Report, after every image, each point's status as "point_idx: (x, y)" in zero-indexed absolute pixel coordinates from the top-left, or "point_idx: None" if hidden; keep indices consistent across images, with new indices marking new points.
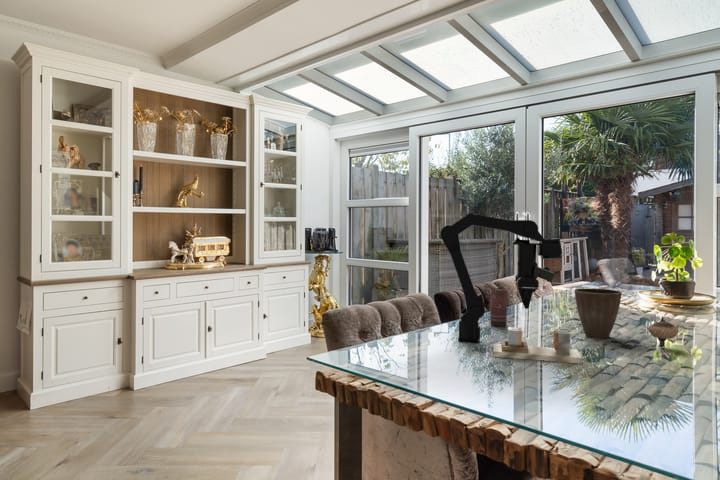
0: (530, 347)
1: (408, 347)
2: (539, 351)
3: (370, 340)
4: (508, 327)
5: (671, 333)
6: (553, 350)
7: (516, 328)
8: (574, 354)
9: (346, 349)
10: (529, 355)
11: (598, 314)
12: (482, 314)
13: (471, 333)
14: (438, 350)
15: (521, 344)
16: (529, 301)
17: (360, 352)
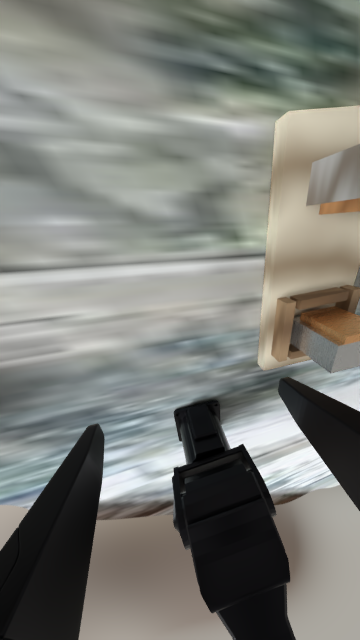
0: (284, 286)
1: (282, 456)
2: (326, 258)
3: None
4: (338, 370)
5: None
6: (311, 215)
7: (353, 347)
8: (358, 133)
9: (305, 487)
10: (351, 280)
11: None
12: (244, 468)
13: (221, 428)
14: (292, 425)
15: (342, 309)
16: (348, 410)
17: (316, 474)
